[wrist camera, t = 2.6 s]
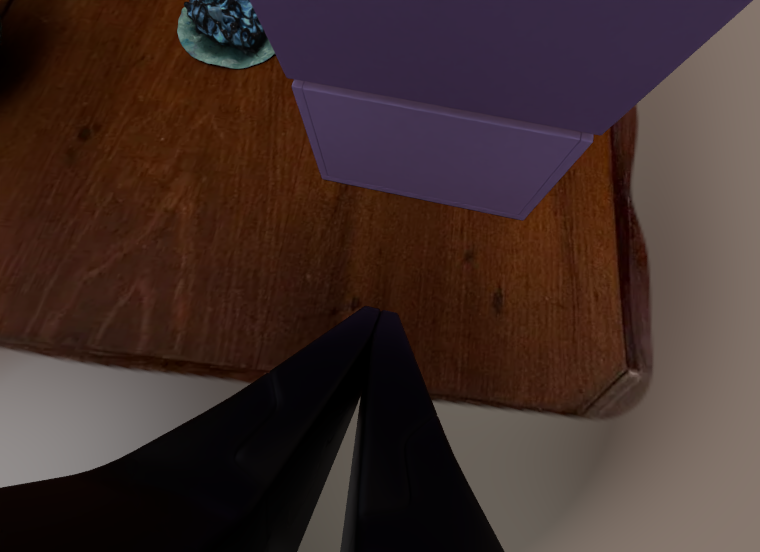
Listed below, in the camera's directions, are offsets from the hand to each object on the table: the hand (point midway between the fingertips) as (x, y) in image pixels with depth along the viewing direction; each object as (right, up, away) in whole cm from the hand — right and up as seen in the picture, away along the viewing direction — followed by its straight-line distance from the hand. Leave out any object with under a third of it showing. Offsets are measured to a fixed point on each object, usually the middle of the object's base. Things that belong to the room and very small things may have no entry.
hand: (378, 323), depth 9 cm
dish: (-11, +20, +18) cm, 29 cm away
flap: (+2, +9, +2) cm, 9 cm away
